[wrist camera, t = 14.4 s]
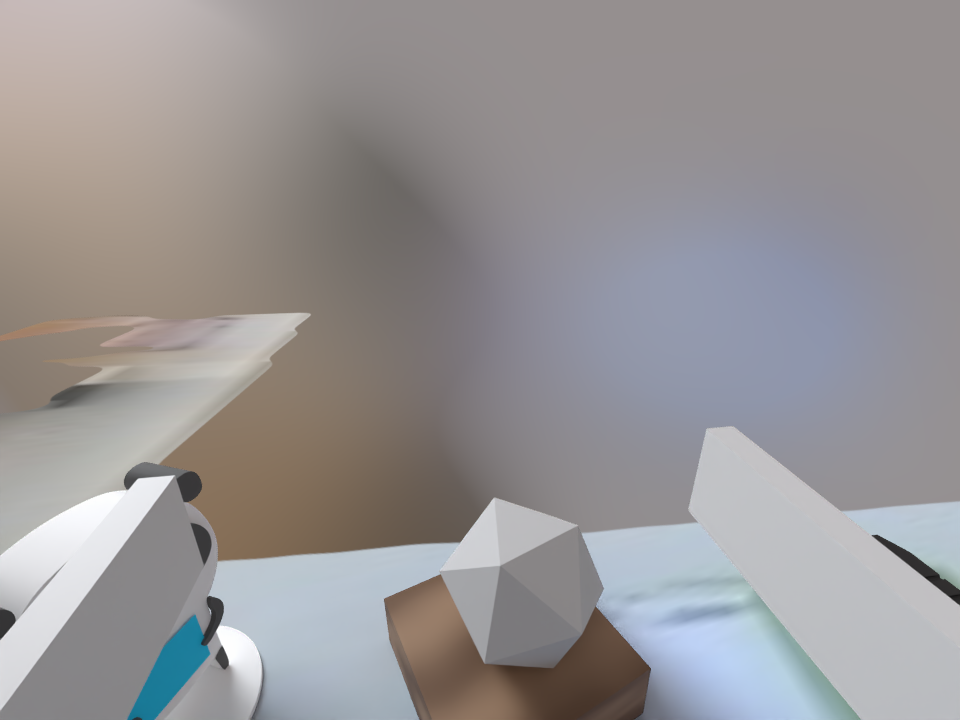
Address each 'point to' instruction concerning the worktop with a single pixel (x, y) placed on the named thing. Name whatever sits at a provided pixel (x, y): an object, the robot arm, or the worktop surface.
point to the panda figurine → (195, 635)
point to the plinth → (508, 668)
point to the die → (522, 585)
